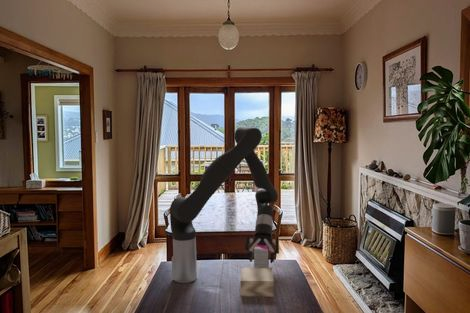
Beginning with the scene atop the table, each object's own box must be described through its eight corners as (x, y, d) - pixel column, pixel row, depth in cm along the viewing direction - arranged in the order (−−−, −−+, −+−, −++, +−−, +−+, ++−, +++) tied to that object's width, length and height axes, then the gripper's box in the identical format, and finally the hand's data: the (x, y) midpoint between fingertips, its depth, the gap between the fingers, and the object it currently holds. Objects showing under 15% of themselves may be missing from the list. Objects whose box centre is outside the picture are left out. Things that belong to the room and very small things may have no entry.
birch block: (240, 296, 125) (240, 280, 125) (241, 282, 137) (241, 267, 137) (273, 297, 125) (273, 281, 124) (272, 282, 136) (272, 267, 136)
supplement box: (267, 276, 141) (267, 249, 140) (253, 275, 142) (253, 248, 141) (269, 271, 147) (269, 244, 146) (255, 270, 148) (255, 244, 147)
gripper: (247, 222, 152) (243, 256, 142) (279, 223, 149) (277, 258, 139) (249, 230, 158) (245, 264, 147) (280, 231, 155) (278, 266, 144)
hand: (261, 261), depth 143 cm, fingers open, 8 cm apart
